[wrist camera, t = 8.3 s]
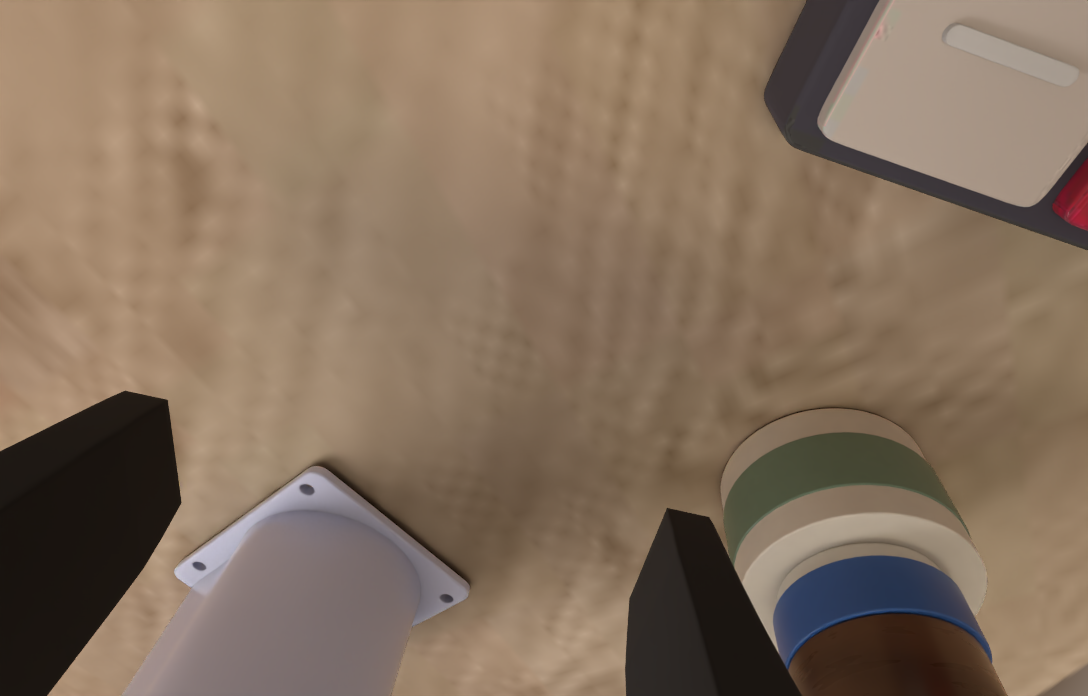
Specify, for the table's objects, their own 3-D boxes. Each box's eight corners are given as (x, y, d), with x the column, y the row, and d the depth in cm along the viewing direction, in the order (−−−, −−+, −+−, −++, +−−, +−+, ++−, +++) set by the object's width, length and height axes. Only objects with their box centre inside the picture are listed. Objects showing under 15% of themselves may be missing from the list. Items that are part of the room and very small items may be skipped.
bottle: (783, 578, 25) (830, 768, 19) (679, 468, 23) (698, 647, 17) (962, 502, 22) (1077, 698, 16) (865, 370, 20) (959, 543, 14)
